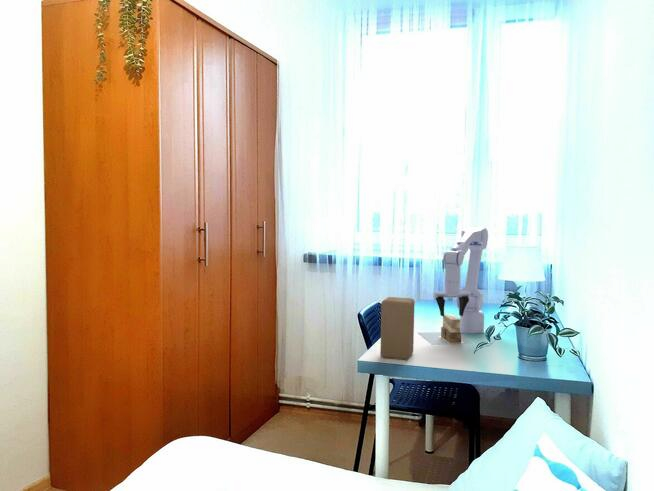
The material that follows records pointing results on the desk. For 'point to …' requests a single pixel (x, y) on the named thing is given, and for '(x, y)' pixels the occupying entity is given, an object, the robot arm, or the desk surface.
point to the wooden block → (397, 328)
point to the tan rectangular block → (451, 323)
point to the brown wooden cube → (443, 332)
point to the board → (439, 338)
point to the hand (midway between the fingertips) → (451, 315)
